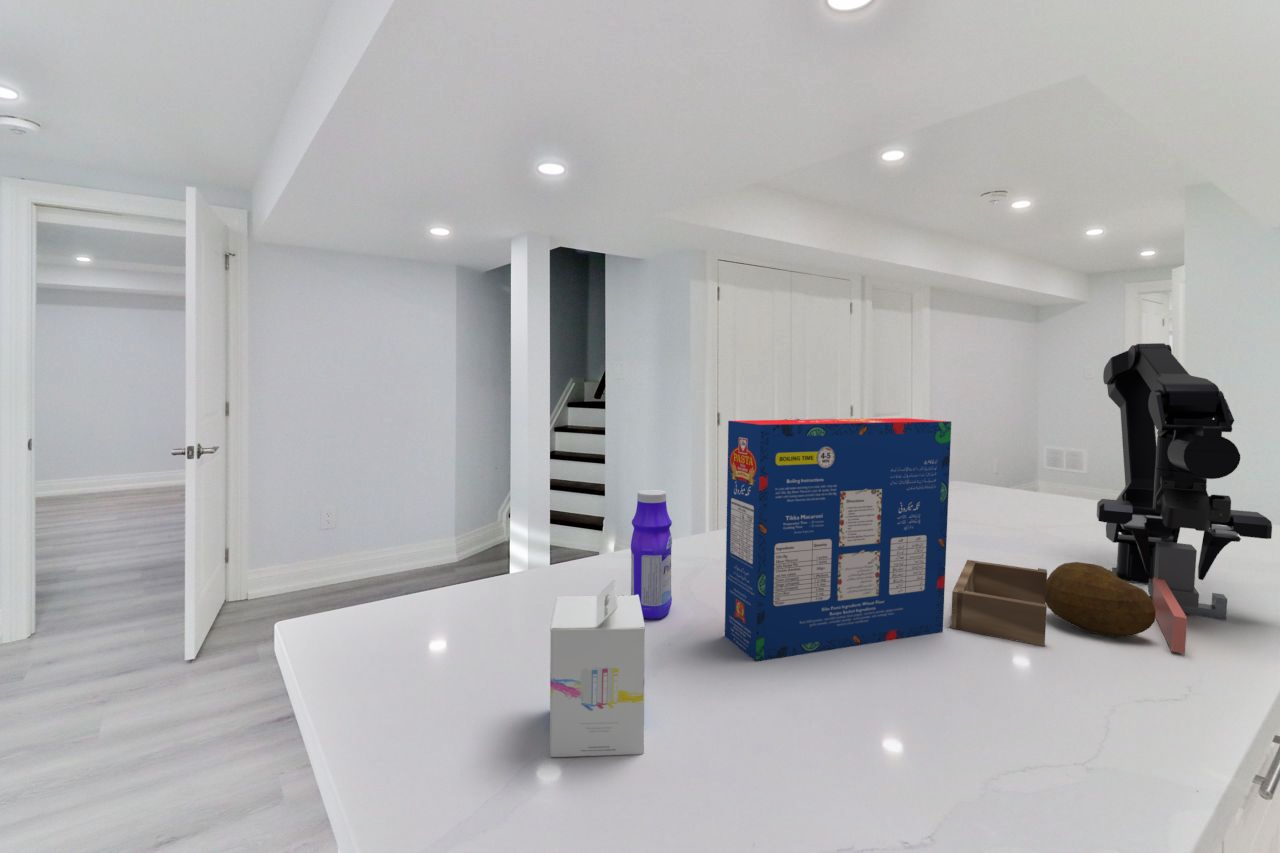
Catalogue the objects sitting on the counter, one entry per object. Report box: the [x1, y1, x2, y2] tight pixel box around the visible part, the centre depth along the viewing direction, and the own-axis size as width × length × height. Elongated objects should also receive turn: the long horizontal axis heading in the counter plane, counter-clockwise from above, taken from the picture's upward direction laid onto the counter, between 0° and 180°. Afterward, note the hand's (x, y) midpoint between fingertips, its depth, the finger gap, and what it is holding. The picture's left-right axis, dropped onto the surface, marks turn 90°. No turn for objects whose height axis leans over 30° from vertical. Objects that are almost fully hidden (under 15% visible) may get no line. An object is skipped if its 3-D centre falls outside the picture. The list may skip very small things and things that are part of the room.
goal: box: [950, 559, 1048, 647], centre depth 89 cm, size 18×11×5 cm, turn 147°
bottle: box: [630, 488, 673, 620], centre depth 88 cm, size 7×6×17 cm
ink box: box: [549, 579, 646, 758], centre depth 58 cm, size 9×8×13 cm
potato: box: [1044, 561, 1156, 638], centre depth 84 cm, size 8×12×9 cm
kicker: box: [1147, 541, 1200, 654], centre depth 84 cm, size 22×5×9 cm, turn 147°
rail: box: [1037, 567, 1228, 621], centre depth 95 cm, size 2×22×3 cm, turn 57°
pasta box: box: [724, 417, 952, 663], centre depth 81 cm, size 28×8×28 cm, turn 109°
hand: (1173, 575), depth 91 cm, fingers open, 6 cm apart
